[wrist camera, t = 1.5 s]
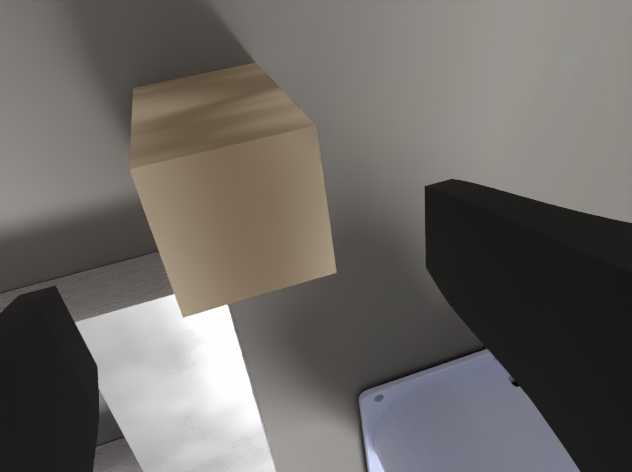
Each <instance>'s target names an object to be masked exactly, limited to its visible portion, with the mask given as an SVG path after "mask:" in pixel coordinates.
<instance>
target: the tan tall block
mask: <svg viewBox="0 0 632 472" xmlns="http://www.w3.org/2000/svg"><path fill="white" fill-rule="evenodd" d="M129 170H130V173H131V176H132V179H133V181H134V184H135V187H136V190H137V192H138V195H139V198H140V201H141V204H142V206H143V209H144V212H145V215H146V217H147V220H148V223H149V226H150V228H151V231H152V234H153V237H154V239H155V242H156V245H157V248H158V250H159V253H160V256H161V259H162V262H163V264H164V267H165V270H166V273H167V275H168V278H169V281H170V284H171V286H172V289H173V292H174V295H175V297H176V300H177V303H178V306H179V308H180V311H181V314H182V317H183V318H184V317H187V316H191V315H194V314H198V313H201V312H204V311H208V310H211V309H215V308H218V307H222V306H225V305H228V304H232V303H235V302H239V301H242V300H245V299H249V298H252V297H256V296H259V295H262V294H266V293H269V292H273V291H276V290H279V289H283V288H286V287H290V286H293V285H297V284H300V283H303V282H307V281H310V280H314V279H317V278H320V277H324V276H327V275H331V274H334V273H337V271H336V264H335V257H334V249H333V242H332V234H331V227H330V219H329V212H328V204H327V197H326V190H325V182H324V175H323V167H322V160H321V152H320V145H319V138H318V130H317V125H316V124H315V123H314V122H313V121H312V120H311V119H310V118H309V117H308V116H307V115H306V114H305V113H304V112H303V111H302V110H301V109H300V108H299V107H298V106H297V105H296V104H295V103H294V102H293V101H292V100H291V99H290V98H289V97H288V96H287V95H286V94H285V93H284V92H283V91H282V90H281V88H280V87H279V86H278V85H277V84H276V83H275V82H274V81H273V80H272V79H271V78H270V77H269V76H268V75H267V74H266V73H265V72H264V71H263V70H262V69H261V68H260V67H259V66H258V65H257V64H256V63H251V64H246V65H242V66H237V67H232V68H227V69H222V70H217V71H212V72H207V73H203V74H198V75H193V76H188V77H183V78H178V79H173V80H168V81H164V82H159V83H154V84H149V85H144V86H139V87H134V88H133V99H132V120H131V141H130V162H129Z"/></svg>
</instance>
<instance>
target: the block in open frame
mask: <svg viewBox="0 0 632 472" xmlns="http://www.w3.org/2000/svg"><path fill="white" fill-rule="evenodd" d="M55 285H56V287H57V289H58V291H59V293H60V295H61V297H62V299H63V301H64V303H65V305H66V306H67V308H68V310H69V312H70V314H71V316H72V318H73V320H74V322H75V324H76V326H77V328H78V330H79V332H80V333H81V335H82V337H83V339H84V341H85V343H86V345H87V347H88V349H89V351H90V353H91V355H92V357H93V359H94V360H95V362H96V364H97V366H98V387H99V390H100V392H101V393H102V395H103V397H104V399H105V401H106V403H107V405H108V406H109V408H110V410H111V412H112V414H113V416H114V418H115V420H116V421H117V423H118V425H119V427H120V429H121V431H122V433H123V435H124V436H125V438H122V439H119V440H116V441H112V442H109V443H106V444H103V445H100V446H97V447H96V450H95V459H94V467H93V472H277V471H276V468H275V464H274V460H273V456H272V452H271V448H270V444H269V441H268V437H267V433H266V429H265V426H264V423H263V419H262V416H261V412H260V409H259V405H258V402H257V398H256V395H255V391H254V388H253V385H252V381H251V378H250V374H249V371H248V367H247V364H246V360H245V357H244V354H243V350H242V347H241V343H240V340H239V336H238V333H237V329H236V326H235V322H234V319H233V316H232V312H231V309H230V305H229V304H228V305H225V306H222V307H218V308H215V309H211V310H208V311H204V312H201V313H198V314H194V315H191V316H187V317H184V318H183V317H182V314H181V311H180V308H179V306H178V303H177V300H176V297H175V295H174V292H173V289H172V286H171V284H170V281H169V278H168V275H167V273H166V270H165V267H164V264H163V262H162V259H161V256H160V253H159V252H155V253H151V254H148V255H144V256H140V257H136V258H133V259H129V260H125V261H121V262H117V263H114V264H110V265H106V266H102V267H99V268H95V269H91V270H87V271H84V272H80V273H76V274H72V275H69V276H65V277H61V278H57V279H54V280H50V281H46V282H42V283H38V284H35V285H31V286H27V287H23V288H20V289H16V290H12V291H8V292H5V293H1V294H0V313H1V312H2V311H3V310H4V309H5V308H6V307H7V306H8V305H9V304H10V303H11V302H12V301H13V300H14V299H15V298H17V297H18V296H19V295H21V294H25V293H29V292H32V291H36V290H40V289H44V288H47V287H51V286H55Z"/></svg>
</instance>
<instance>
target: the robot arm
mask: <svg viewBox="0 0 632 472" xmlns="http://www.w3.org/2000/svg"><path fill="white" fill-rule="evenodd" d="M425 238H426V268H427V270H428V272H429V273H430V275H431V277H432V278H433V280H434V282H435V283H436V285H437V286H438V288H439V290H440V291H441V293H442V294H443V296H444V297H445V299H446V300H447V302H448V303H449V304H450V306H451V307H452V308H453V309H454V311H455V312H456V313H457V314H458V315H459V316H460V318H461V319H462V320H463V321H464V322H465V324H466V325H467V326H468V327H469V328H470V329H471V331H472V332H473V333H474V334H475V335H476V336H477V337H478V339H479V340H480V341H481V342H482V343H483V344H484V346H485V347H486V348H487V349H485V350H482V351H479V352H476V353H473V354H470V355H468V356H465V357H462V358H459V359H456V360H453V361H450V362H447V363H444V364H441V365H438V366H435V367H432V368H429V369H427V370H424V371H421V372H418V373H415V374H412V375H409V376H406V377H403V378H400V379H397V380H394V381H391V382H388V383H386V384H383V385H380V386H377V387H374V388H371V389H368V390H366V391H364V392H362V393H361V395H360V396H359V406H360V414H361V422H362V430H363V438H364V445H365V453H366V461H367V469H368V472H632V223H628V222H623V221H618V220H613V219H609V218H605V217H600V216H596V215H591V214H587V213H583V212H578V211H574V210H571V209H567V208H563V207H559V206H555V205H551V204H548V203H544V202H540V201H537V200H533V199H529V198H526V197H522V196H519V195H515V194H512V193H508V192H504V191H501V190H497V189H494V188H490V187H486V186H483V185H479V184H475V183H471V182H466V181H461V180H455V179H450V180H446V181H442V182H439V183H435V184H431V185H428V186H425ZM98 422H99V387H98V366H97V364H96V362H95V360H94V359H93V357H92V355H91V353H90V351H89V349H88V347H87V345H86V343H85V341H84V339H83V337H82V335H81V333H80V332H79V330H78V328H77V326H76V324H75V322H74V320H73V318H72V316H71V314H70V312H69V310H68V308H67V306H66V305H65V303H64V301H63V299H62V297H61V295H60V293H59V291H58V289H57V287H56V285H55V286H51V287H47V288H44V289H40V290H36V291H32V292H29V293H25V294H21V295H19V296H18V297H17V298H15V299H14V300H13V301H12V302H11V303H10V304H9V305H8V306H7V307H6V308H5V309H4V310H3V311H2V312H1V313H0V472H93V467H94V459H95V450H96V441H97V432H98Z"/></svg>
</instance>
